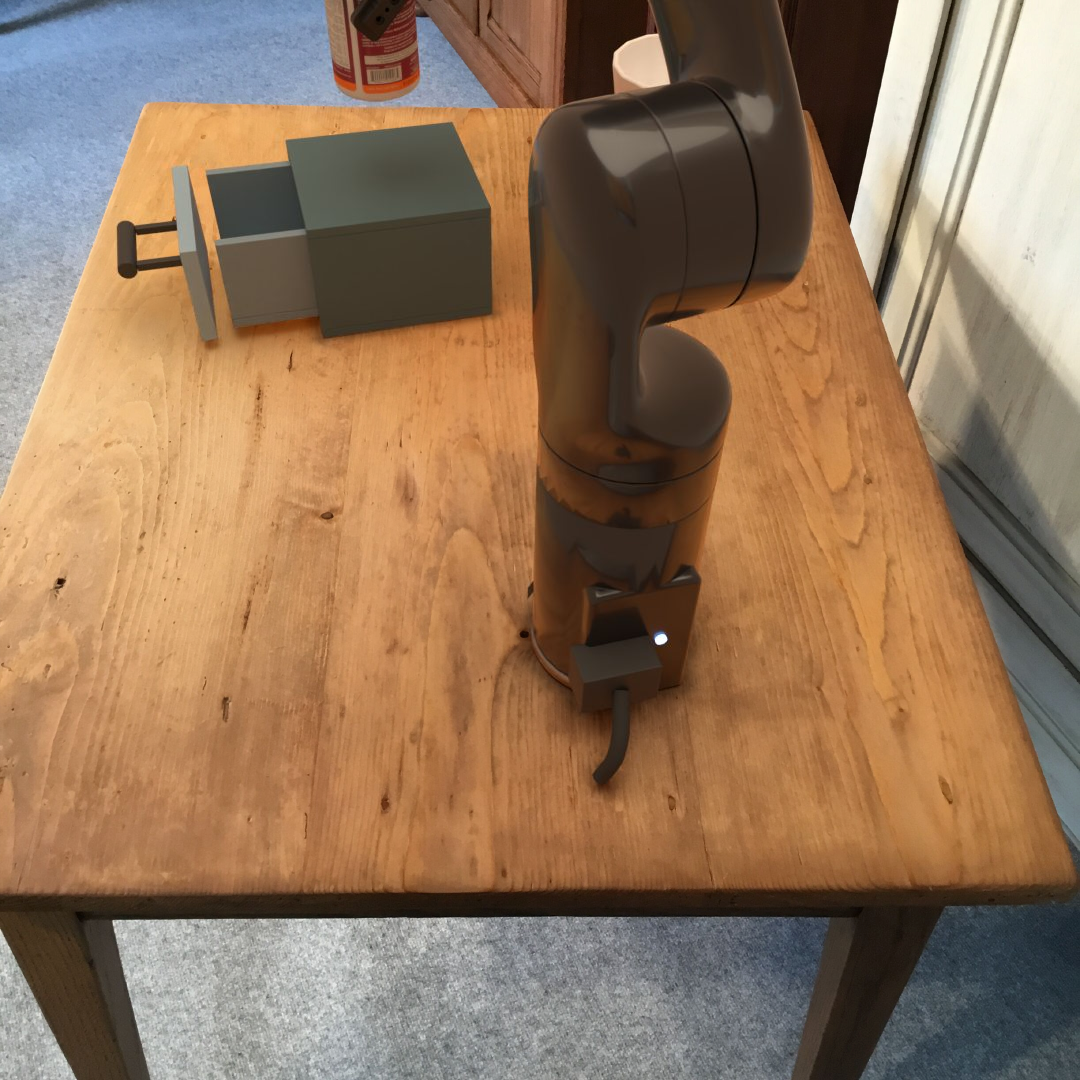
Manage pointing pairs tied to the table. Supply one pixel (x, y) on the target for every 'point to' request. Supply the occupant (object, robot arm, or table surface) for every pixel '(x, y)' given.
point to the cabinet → (393, 228)
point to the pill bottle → (373, 54)
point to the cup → (639, 65)
